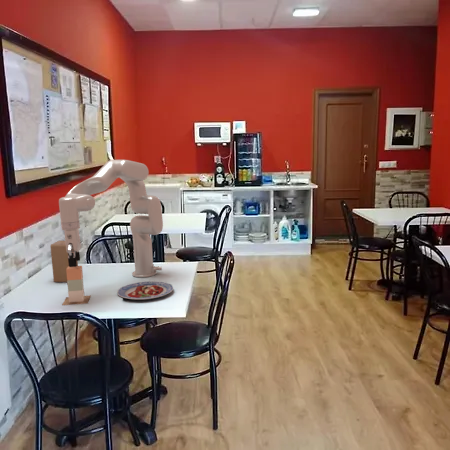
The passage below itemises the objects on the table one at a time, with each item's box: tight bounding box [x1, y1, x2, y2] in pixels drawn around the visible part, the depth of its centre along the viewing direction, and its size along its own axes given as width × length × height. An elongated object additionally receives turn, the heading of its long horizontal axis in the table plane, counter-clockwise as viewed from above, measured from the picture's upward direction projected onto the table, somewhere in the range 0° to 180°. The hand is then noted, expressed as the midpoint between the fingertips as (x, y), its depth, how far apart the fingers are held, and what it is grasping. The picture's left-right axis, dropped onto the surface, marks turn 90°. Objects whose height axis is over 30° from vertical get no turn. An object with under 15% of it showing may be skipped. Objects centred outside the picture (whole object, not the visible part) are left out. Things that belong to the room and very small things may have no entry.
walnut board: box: [62, 295, 92, 306], centre depth 212 cm, size 11×11×1 cm
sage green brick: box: [66, 276, 85, 292], centre depth 211 cm, size 6×4×5 cm
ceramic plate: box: [116, 280, 174, 301], centre depth 222 cm, size 26×26×3 cm
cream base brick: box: [67, 288, 85, 302], centre depth 212 cm, size 6×4×5 cm
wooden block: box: [50, 240, 79, 283], centre depth 247 cm, size 10×10×20 cm
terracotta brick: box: [66, 265, 84, 280], centre depth 210 cm, size 6×4×5 cm
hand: (74, 263), depth 210 cm, fingers open, 9 cm apart
